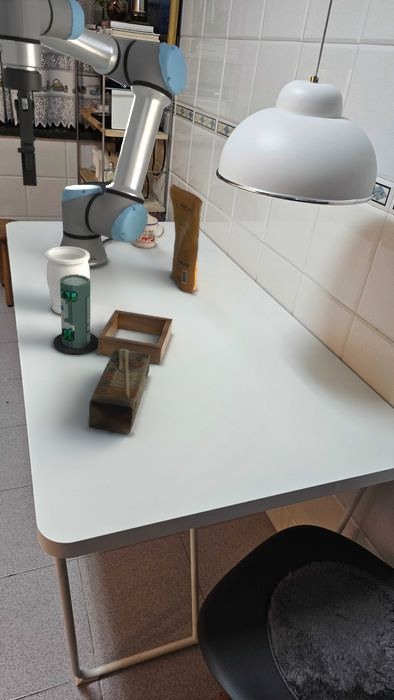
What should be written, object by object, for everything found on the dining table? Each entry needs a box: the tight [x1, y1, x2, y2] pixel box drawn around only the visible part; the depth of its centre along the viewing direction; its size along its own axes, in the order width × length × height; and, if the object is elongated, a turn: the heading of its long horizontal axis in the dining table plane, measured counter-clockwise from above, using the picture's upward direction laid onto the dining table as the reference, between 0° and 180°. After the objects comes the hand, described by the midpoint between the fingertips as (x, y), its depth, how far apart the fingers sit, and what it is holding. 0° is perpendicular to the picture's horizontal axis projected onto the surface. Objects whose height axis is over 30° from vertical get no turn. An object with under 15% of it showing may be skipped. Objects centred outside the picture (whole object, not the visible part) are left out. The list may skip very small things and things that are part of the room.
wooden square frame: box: [97, 309, 173, 365], centre depth 109 cm, size 14×14×4 cm
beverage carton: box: [88, 349, 151, 435], centre depth 90 cm, size 8×19×7 cm, turn 175°
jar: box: [45, 246, 91, 315], centre depth 118 cm, size 11×10×15 cm
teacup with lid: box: [131, 212, 166, 249], centre depth 169 cm, size 12×9×12 cm
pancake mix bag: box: [169, 183, 203, 294], centre depth 138 cm, size 7×19×28 cm, turn 20°
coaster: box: [53, 332, 98, 356], centre depth 108 cm, size 10×10×1 cm
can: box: [60, 274, 91, 348], centre depth 104 cm, size 6×6×15 cm
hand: (29, 178), depth 105 cm, fingers open, 13 cm apart
